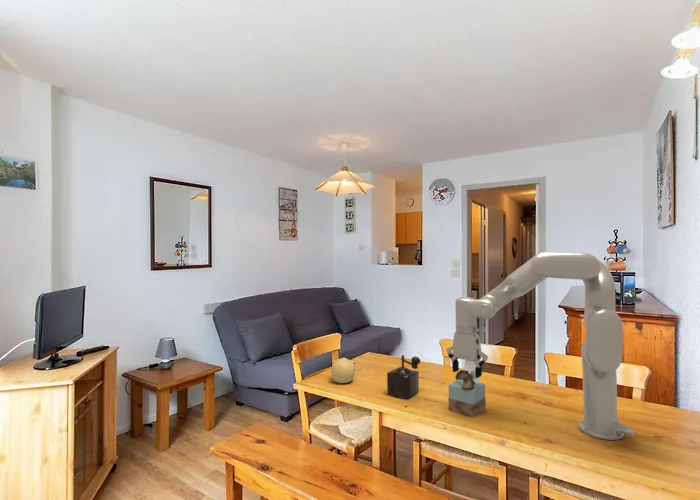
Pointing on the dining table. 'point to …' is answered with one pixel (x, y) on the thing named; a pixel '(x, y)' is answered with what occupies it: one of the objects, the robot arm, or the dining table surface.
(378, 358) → the dining table surface
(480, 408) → the tower base
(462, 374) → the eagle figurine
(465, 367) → the pepper shaker
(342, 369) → the sculpture
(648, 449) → the dining table surface
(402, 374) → the manual coffee grinder
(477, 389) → the tower top
